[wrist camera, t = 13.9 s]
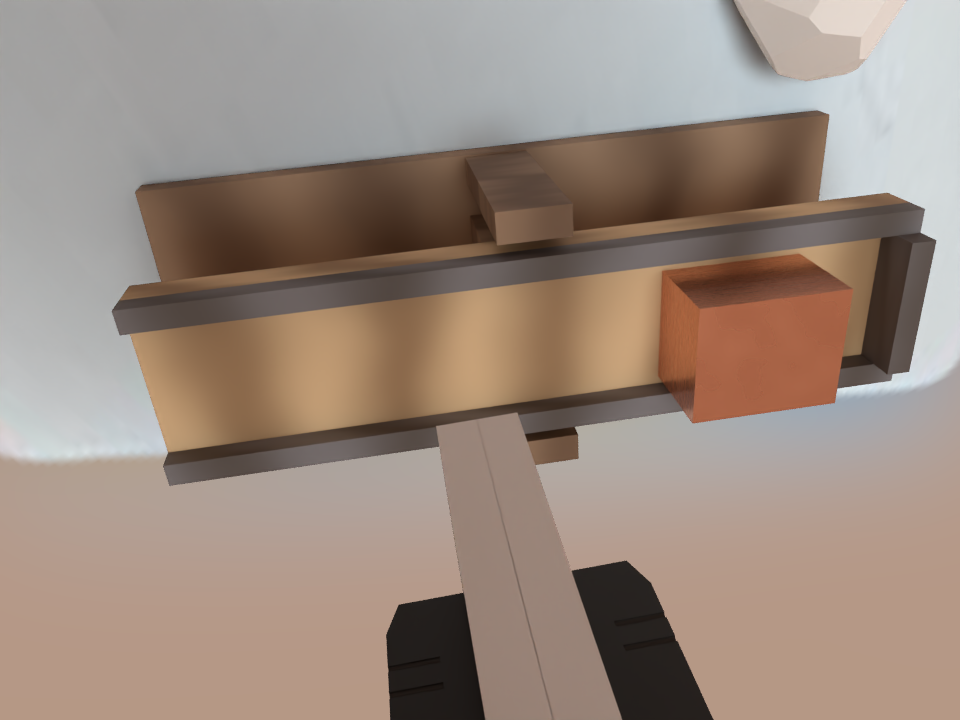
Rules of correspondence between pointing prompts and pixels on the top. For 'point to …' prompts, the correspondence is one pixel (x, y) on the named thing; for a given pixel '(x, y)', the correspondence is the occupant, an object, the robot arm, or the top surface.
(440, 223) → the stand
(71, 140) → the top surface
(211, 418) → the beam
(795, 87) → the top surface
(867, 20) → the crystal
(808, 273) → the terracotta wooden block
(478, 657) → the robot arm
